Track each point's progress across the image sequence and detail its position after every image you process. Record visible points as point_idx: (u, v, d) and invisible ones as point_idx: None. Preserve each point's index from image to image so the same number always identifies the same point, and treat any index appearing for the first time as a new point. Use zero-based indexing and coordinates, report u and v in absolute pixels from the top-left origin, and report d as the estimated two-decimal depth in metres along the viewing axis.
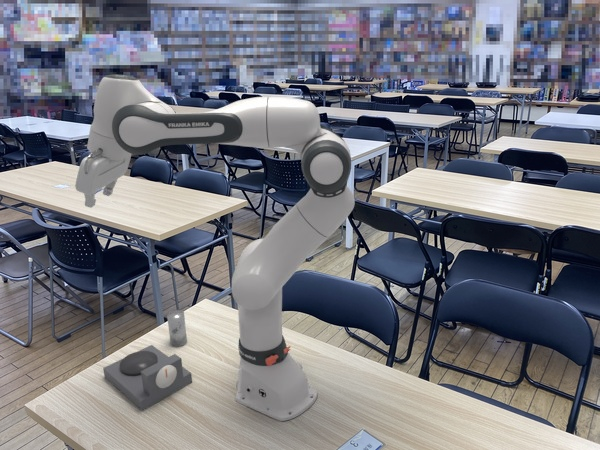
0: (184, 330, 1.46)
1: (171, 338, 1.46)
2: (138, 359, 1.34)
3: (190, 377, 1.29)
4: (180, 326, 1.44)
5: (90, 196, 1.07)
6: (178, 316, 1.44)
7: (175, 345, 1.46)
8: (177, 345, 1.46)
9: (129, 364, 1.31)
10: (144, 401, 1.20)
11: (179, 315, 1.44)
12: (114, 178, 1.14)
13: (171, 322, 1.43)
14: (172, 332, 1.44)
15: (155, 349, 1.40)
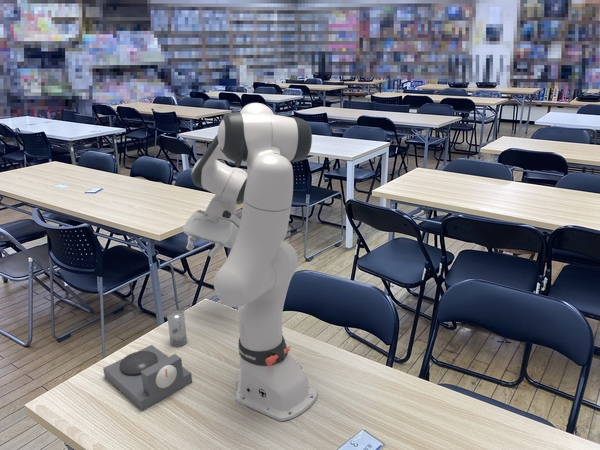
0: (184, 330, 1.46)
1: (171, 338, 1.46)
2: (138, 359, 1.34)
3: (190, 377, 1.29)
4: (180, 326, 1.44)
5: None
6: (178, 316, 1.44)
7: (175, 345, 1.46)
8: (177, 345, 1.46)
9: (129, 364, 1.31)
10: (144, 401, 1.20)
11: (179, 315, 1.44)
12: (209, 236, 1.48)
13: (171, 322, 1.43)
14: (172, 332, 1.44)
15: (155, 349, 1.40)
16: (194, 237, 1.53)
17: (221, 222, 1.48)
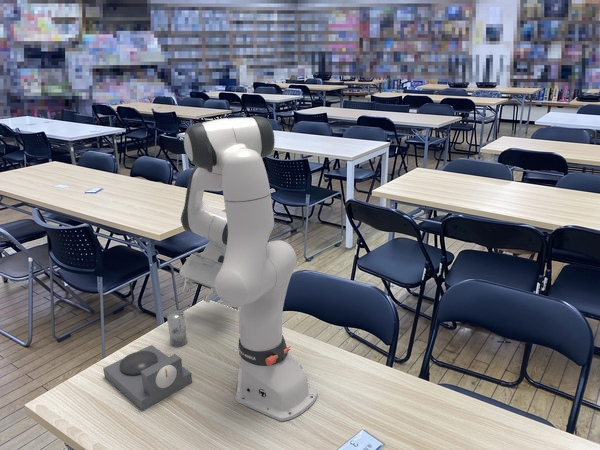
0: (184, 330, 1.46)
1: (171, 338, 1.46)
2: (138, 359, 1.34)
3: (190, 377, 1.29)
4: (180, 326, 1.44)
5: None
6: (178, 316, 1.44)
7: (175, 345, 1.46)
8: (177, 345, 1.46)
9: (129, 364, 1.31)
10: (144, 401, 1.20)
11: (179, 315, 1.44)
12: (205, 280, 1.49)
13: (171, 322, 1.43)
14: (172, 332, 1.44)
15: (155, 349, 1.40)
16: (190, 280, 1.55)
17: (217, 267, 1.49)
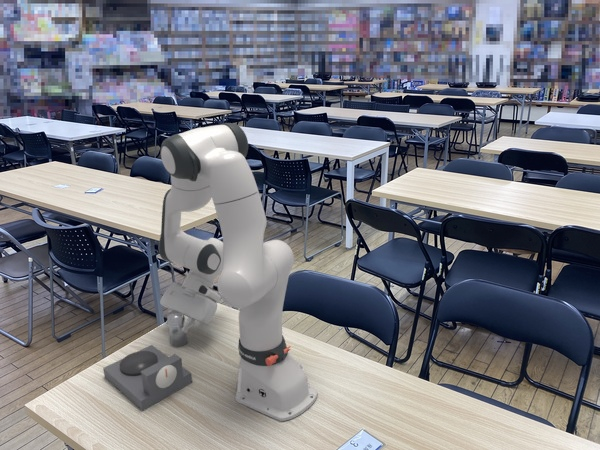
0: None
1: (171, 338, 1.46)
2: (138, 359, 1.34)
3: (190, 377, 1.29)
4: (180, 326, 1.44)
5: None
6: (178, 316, 1.44)
7: (175, 345, 1.46)
8: (177, 345, 1.46)
9: (129, 364, 1.31)
10: (144, 401, 1.20)
11: (179, 315, 1.44)
12: (185, 311, 1.45)
13: (171, 322, 1.43)
14: (172, 332, 1.44)
15: (155, 349, 1.40)
16: None
17: (197, 297, 1.45)
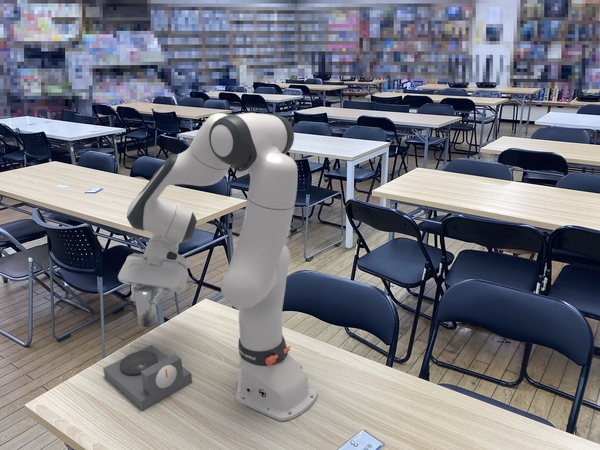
0: (154, 307, 1.34)
1: (141, 317, 1.33)
2: (138, 359, 1.34)
3: (190, 377, 1.29)
4: None
5: None
6: (148, 292, 1.31)
7: (147, 325, 1.33)
8: (148, 324, 1.33)
9: (129, 364, 1.31)
10: (144, 401, 1.20)
11: (148, 291, 1.32)
12: (154, 282, 1.33)
13: (141, 299, 1.30)
14: (142, 310, 1.31)
15: (155, 349, 1.40)
16: (138, 285, 1.36)
17: (166, 265, 1.33)
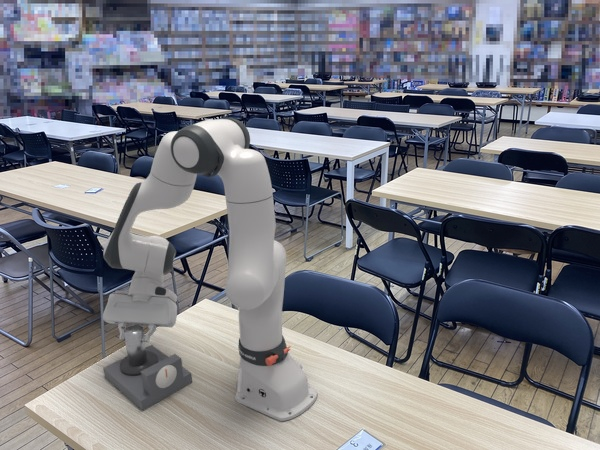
0: (145, 345, 1.32)
1: (132, 358, 1.30)
2: None
3: (190, 377, 1.29)
4: None
5: None
6: (138, 331, 1.29)
7: (138, 365, 1.30)
8: (140, 364, 1.31)
9: None
10: (144, 401, 1.20)
11: (139, 330, 1.29)
12: (144, 319, 1.30)
13: (133, 339, 1.28)
14: (134, 350, 1.29)
15: (155, 349, 1.40)
16: (125, 324, 1.32)
17: (155, 301, 1.32)
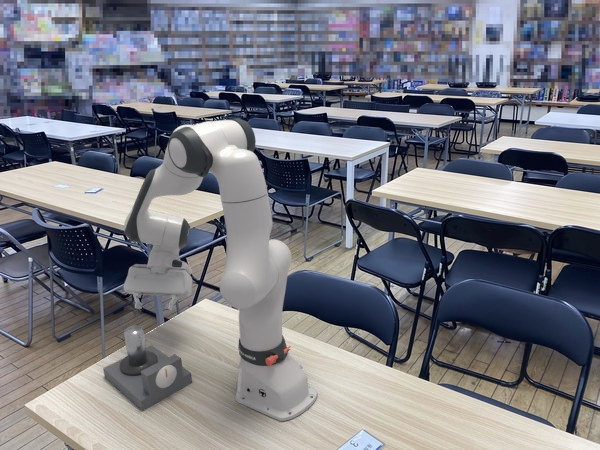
0: (145, 345, 1.32)
1: (132, 358, 1.30)
2: None
3: (190, 377, 1.29)
4: (142, 341, 1.29)
5: None
6: (138, 331, 1.29)
7: (138, 365, 1.30)
8: (140, 364, 1.31)
9: None
10: (144, 401, 1.20)
11: (139, 330, 1.29)
12: (162, 289, 1.41)
13: (133, 339, 1.28)
14: (134, 350, 1.29)
15: (155, 349, 1.40)
16: (139, 294, 1.44)
17: (172, 272, 1.43)
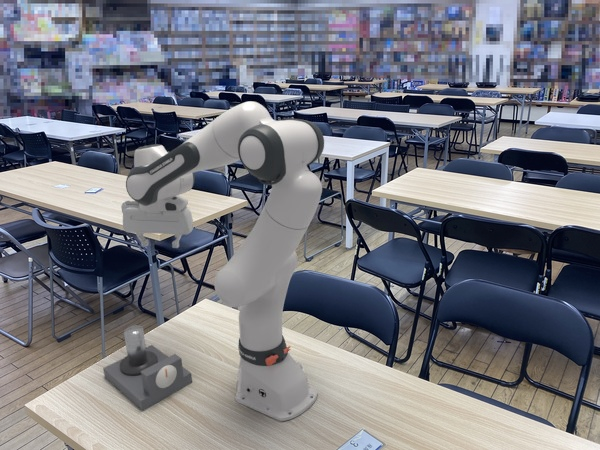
0: (145, 345, 1.32)
1: (132, 358, 1.30)
2: None
3: (190, 377, 1.29)
4: (142, 341, 1.29)
5: None
6: (138, 331, 1.29)
7: (138, 365, 1.30)
8: (140, 364, 1.31)
9: None
10: (144, 401, 1.20)
11: (139, 330, 1.29)
12: (163, 231, 1.36)
13: (133, 339, 1.28)
14: (134, 350, 1.29)
15: (155, 349, 1.40)
16: None
17: (168, 214, 1.34)
